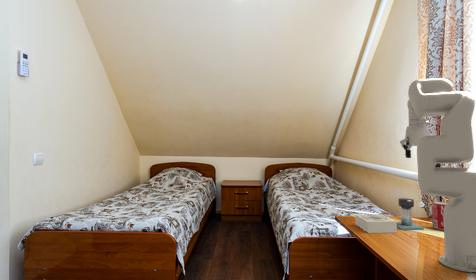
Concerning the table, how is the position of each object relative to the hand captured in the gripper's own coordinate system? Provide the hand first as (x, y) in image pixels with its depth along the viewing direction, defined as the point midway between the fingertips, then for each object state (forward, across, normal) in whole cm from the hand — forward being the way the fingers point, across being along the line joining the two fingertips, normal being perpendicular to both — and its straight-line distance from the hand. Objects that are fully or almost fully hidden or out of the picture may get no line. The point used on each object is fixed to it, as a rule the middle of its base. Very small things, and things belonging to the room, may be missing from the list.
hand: (417, 157), depth 147 cm
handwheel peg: (+31, +10, +6) cm, 33 cm away
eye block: (+32, +26, +8) cm, 42 cm away
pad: (+32, +10, +6) cm, 34 cm away
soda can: (+33, -4, +10) cm, 34 cm away
